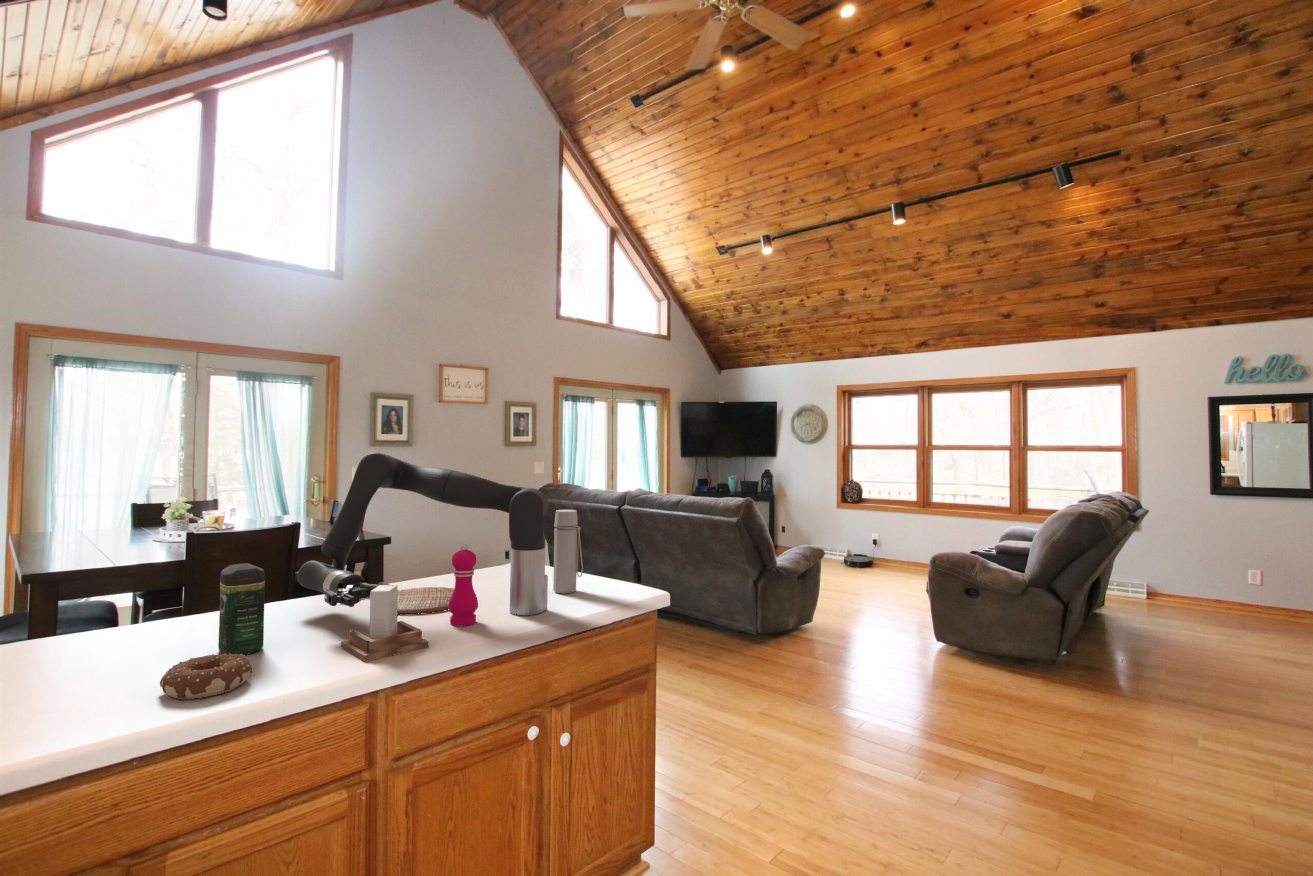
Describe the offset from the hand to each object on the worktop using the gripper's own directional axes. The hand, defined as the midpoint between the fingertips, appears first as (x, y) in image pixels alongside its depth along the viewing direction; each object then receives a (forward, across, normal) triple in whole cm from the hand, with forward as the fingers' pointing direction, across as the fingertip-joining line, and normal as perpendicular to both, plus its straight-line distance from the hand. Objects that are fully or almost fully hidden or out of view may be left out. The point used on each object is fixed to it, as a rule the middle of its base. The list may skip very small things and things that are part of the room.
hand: (372, 599), depth 145 cm
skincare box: (+7, 0, +8) cm, 11 cm away
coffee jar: (-12, -23, +10) cm, 28 cm away
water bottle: (-6, +62, +10) cm, 63 cm away
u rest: (+7, 0, +9) cm, 12 cm away
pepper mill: (+2, +22, +10) cm, 24 cm away
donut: (+7, -33, +10) cm, 35 cm away
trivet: (-24, +24, +10) cm, 35 cm away
